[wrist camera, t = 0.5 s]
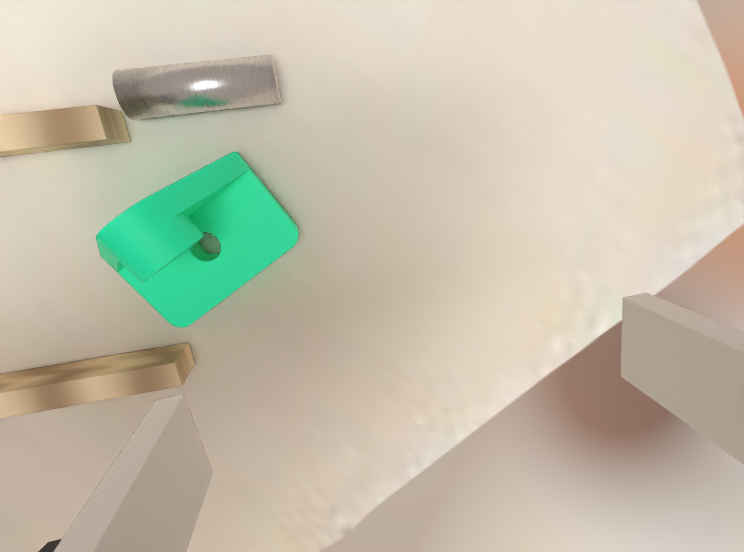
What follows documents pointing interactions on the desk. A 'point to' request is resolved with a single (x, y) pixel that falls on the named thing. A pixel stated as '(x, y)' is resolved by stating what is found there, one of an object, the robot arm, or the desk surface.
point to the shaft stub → (197, 87)
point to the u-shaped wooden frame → (98, 374)
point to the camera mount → (184, 230)
